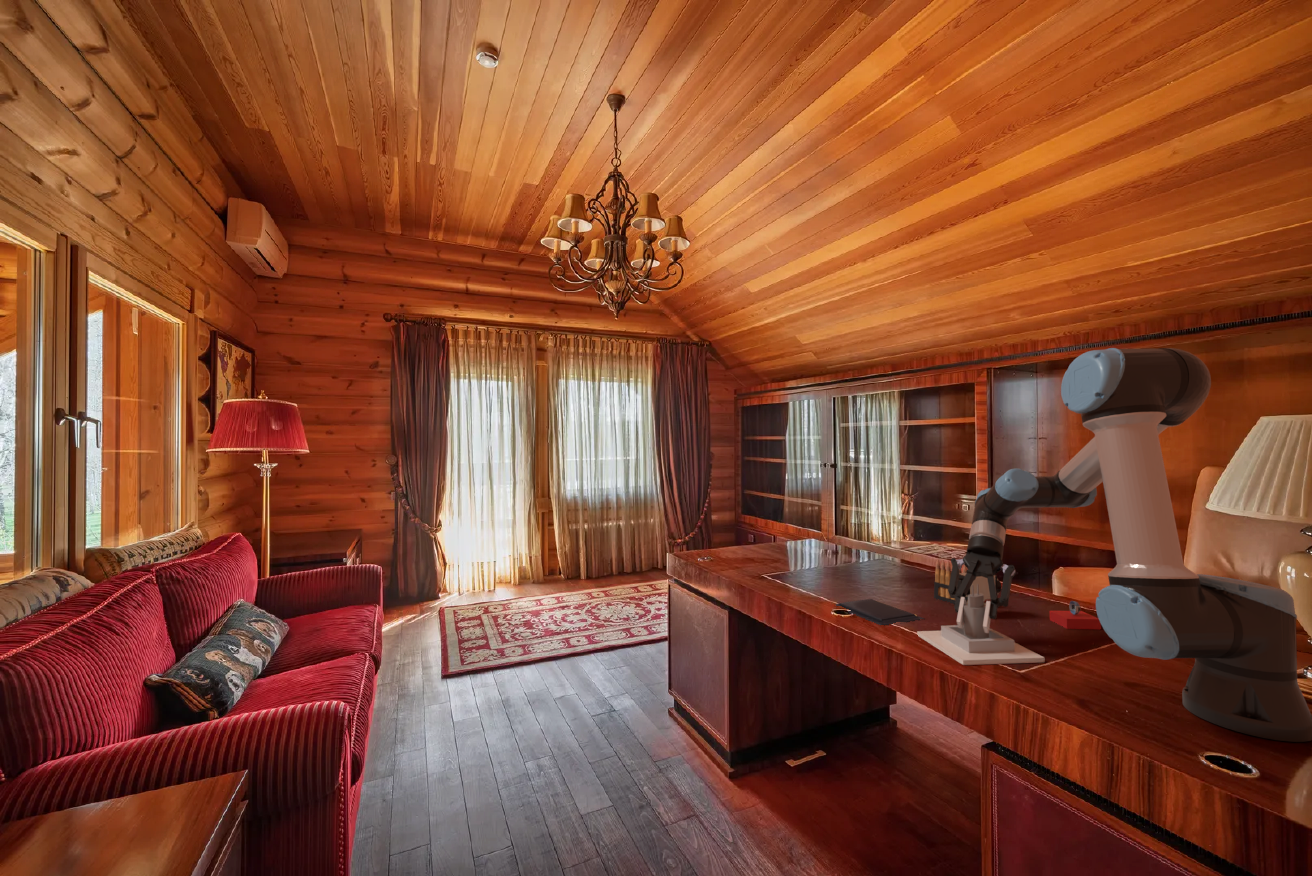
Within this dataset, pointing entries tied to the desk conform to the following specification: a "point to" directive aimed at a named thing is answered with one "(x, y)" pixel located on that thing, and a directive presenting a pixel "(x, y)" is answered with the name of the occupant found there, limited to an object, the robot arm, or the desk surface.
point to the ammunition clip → (944, 582)
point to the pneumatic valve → (980, 586)
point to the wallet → (878, 612)
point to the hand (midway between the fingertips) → (972, 627)
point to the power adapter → (974, 616)
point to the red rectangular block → (1075, 618)
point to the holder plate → (979, 647)
